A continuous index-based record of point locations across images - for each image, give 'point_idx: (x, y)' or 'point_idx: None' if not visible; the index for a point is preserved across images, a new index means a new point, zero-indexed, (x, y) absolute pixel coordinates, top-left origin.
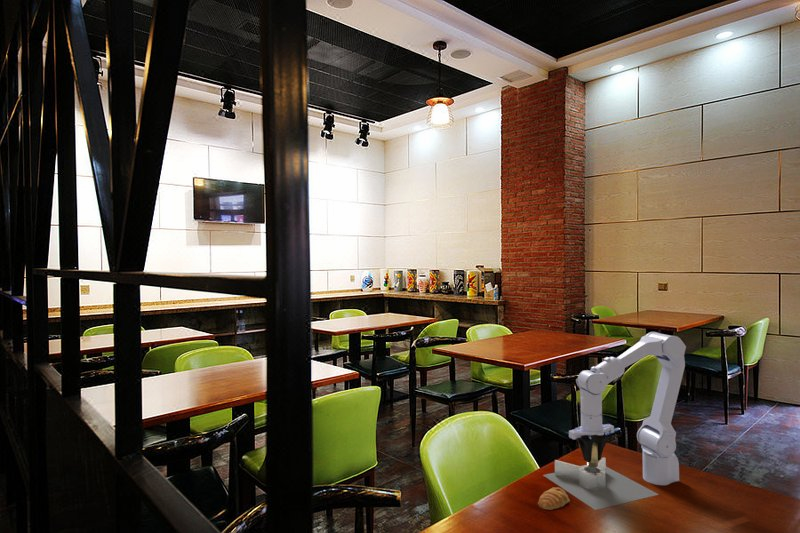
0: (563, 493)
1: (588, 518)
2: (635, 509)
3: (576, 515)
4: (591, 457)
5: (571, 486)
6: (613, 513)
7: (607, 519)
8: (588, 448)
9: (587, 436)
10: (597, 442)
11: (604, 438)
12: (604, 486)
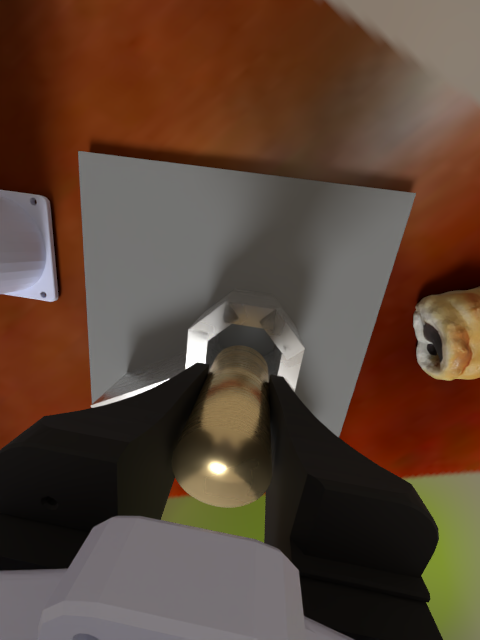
0: (462, 322)
1: (462, 184)
2: (241, 138)
3: (477, 226)
4: (264, 387)
5: (319, 368)
6: (343, 161)
7: (408, 137)
8: (333, 435)
9: (328, 608)
10: (162, 462)
11: (103, 447)
12: (237, 291)
